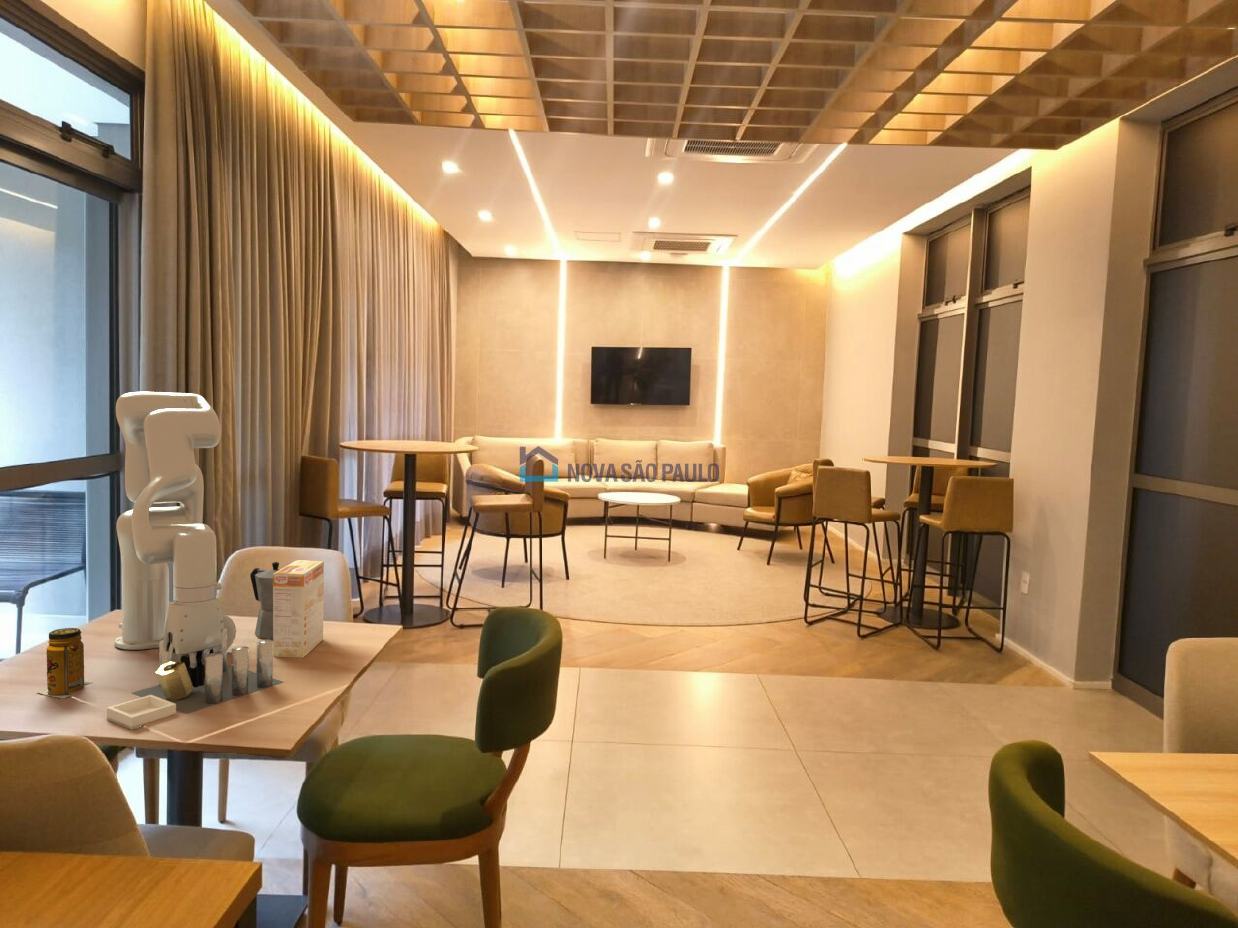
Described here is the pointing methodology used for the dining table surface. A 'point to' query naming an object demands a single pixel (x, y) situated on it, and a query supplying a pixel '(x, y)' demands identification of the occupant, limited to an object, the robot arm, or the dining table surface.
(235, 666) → the silver peg rack
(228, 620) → the donut
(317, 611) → the coffeecake box
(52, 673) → the condiment
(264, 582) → the coffeepot
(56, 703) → the dining table surface
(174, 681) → the amber perfume bottle
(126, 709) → the dish
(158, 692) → the mat
